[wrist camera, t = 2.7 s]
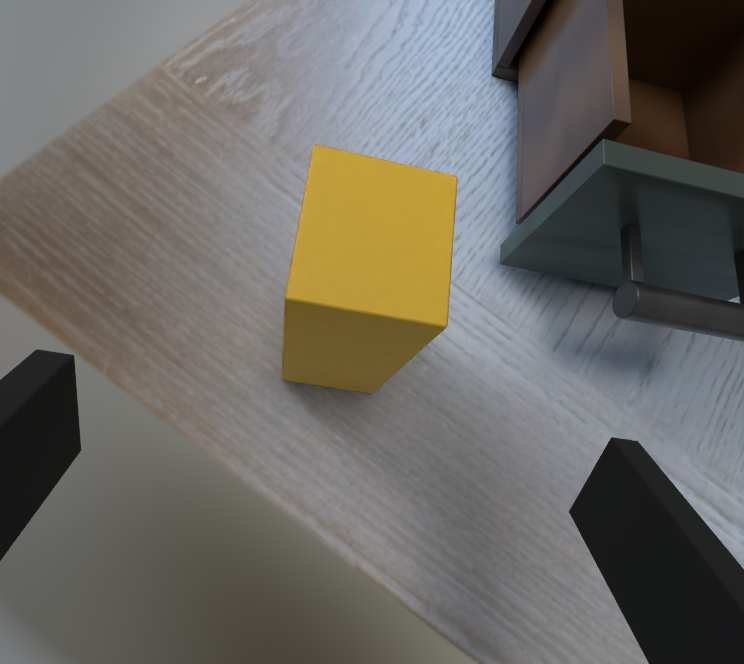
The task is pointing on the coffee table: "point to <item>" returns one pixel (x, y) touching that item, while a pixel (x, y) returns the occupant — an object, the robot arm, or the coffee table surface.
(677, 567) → the robot arm
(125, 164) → the coffee table surface
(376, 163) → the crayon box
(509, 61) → the cabinet
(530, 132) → the drawer
